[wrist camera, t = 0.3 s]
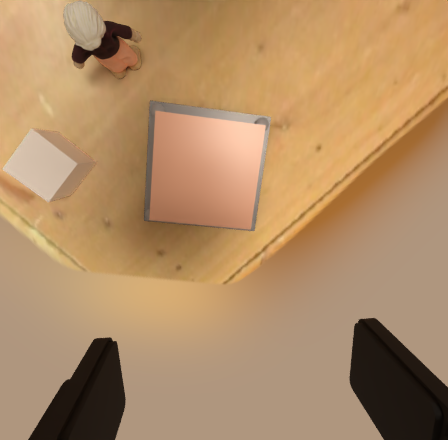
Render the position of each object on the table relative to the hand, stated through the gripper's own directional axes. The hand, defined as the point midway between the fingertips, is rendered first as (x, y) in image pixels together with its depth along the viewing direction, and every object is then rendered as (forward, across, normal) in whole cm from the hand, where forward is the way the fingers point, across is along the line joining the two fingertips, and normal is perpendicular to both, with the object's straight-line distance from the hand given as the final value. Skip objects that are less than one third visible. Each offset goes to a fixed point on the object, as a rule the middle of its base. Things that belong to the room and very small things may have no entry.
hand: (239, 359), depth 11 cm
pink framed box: (+30, +1, -6) cm, 31 cm away
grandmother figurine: (+31, +11, -19) cm, 38 cm away
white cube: (+31, +20, -7) cm, 37 cm away
